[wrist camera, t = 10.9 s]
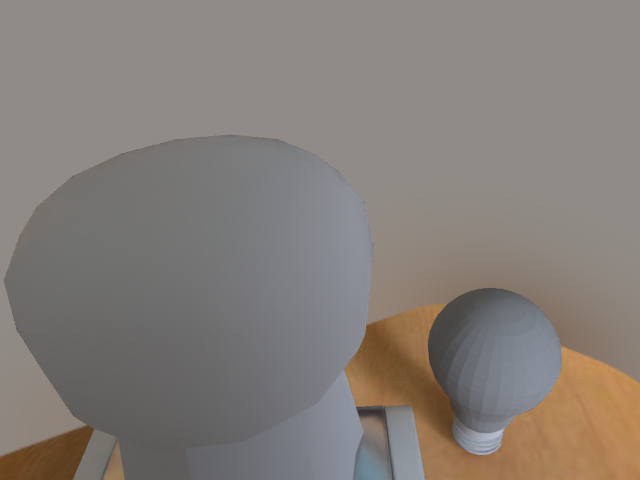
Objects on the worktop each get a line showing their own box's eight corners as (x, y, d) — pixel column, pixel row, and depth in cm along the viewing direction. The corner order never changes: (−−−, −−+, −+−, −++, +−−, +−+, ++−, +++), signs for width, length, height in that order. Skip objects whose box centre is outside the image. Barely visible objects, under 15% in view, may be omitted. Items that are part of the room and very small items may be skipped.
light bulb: (409, 468, 27) (418, 333, 21) (433, 383, 31) (445, 253, 26) (529, 508, 25) (574, 370, 19) (536, 411, 29) (575, 276, 24)
